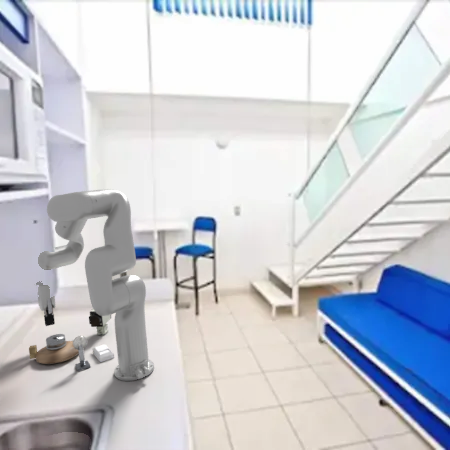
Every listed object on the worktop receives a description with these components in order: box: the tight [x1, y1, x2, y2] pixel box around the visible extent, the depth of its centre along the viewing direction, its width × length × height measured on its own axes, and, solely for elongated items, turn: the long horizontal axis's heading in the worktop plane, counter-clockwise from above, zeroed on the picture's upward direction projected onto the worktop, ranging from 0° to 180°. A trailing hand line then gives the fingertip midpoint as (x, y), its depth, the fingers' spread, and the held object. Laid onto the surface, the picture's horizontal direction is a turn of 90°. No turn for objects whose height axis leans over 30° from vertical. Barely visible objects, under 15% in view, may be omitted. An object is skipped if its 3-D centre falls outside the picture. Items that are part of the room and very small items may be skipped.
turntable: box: [28, 340, 79, 365], centre depth 135 cm, size 17×15×4 cm
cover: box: [45, 333, 67, 351], centre depth 138 cm, size 7×7×4 cm
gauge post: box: [72, 335, 91, 372], centre depth 126 cm, size 4×4×11 cm
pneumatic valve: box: [88, 308, 112, 336], centre depth 153 cm, size 6×12×12 cm, turn 174°
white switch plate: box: [92, 343, 115, 363], centre depth 134 cm, size 5×9×3 cm, turn 35°
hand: (49, 324), depth 145 cm, fingers closed
